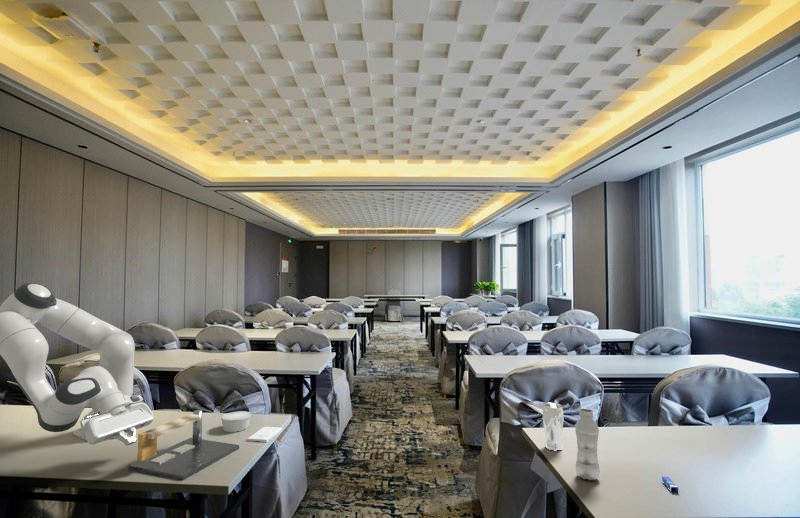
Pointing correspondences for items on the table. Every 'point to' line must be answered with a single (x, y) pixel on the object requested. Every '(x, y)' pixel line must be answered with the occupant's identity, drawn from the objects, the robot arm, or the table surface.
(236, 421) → the ramekin
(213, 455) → the base plate
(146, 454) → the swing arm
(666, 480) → the eraser
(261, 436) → the external hard drive
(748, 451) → the table surface
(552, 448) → the beer glass
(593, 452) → the plastic bottle
